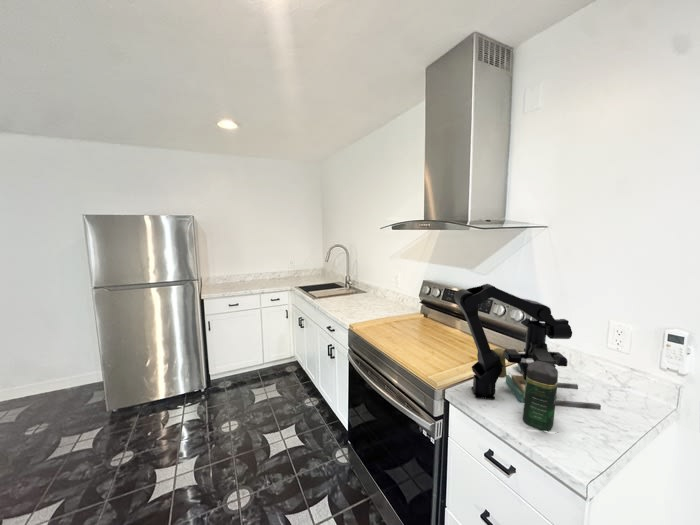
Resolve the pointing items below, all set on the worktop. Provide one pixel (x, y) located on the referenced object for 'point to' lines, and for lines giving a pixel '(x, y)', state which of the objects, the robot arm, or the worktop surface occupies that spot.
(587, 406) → the bay
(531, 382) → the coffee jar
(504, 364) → the cork
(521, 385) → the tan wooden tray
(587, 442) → the worktop surface
